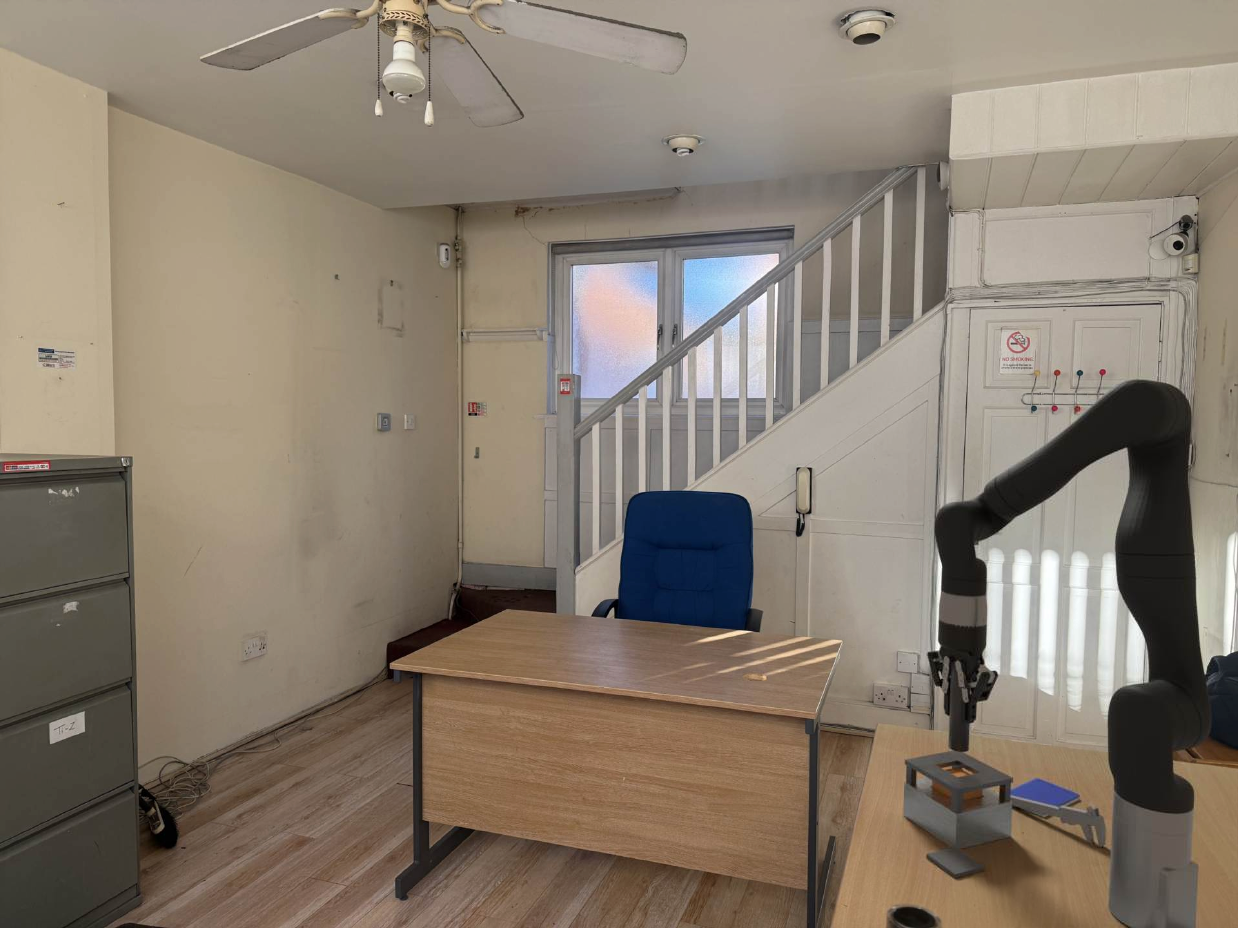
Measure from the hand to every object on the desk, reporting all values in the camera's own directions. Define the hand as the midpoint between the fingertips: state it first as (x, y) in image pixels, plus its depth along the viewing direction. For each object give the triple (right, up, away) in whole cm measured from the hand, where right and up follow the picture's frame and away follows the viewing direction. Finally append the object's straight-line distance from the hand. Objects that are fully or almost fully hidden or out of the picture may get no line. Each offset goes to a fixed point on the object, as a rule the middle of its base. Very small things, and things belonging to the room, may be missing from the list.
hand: (959, 718), depth 134 cm
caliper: (+16, -19, +3) cm, 25 cm away
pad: (-5, -19, -11) cm, 23 cm away
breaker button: (0, -15, +1) cm, 15 cm away
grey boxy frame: (0, -19, +1) cm, 19 cm away
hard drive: (+20, -19, +11) cm, 29 cm away
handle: (0, -5, 0) cm, 5 cm away
